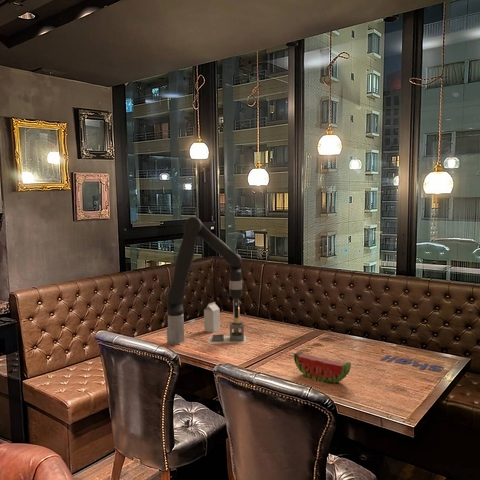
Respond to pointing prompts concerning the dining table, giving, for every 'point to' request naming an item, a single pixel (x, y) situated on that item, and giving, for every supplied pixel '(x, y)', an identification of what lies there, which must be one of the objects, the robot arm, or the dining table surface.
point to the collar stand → (231, 334)
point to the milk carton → (212, 318)
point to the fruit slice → (321, 367)
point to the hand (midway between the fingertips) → (236, 316)
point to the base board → (226, 340)
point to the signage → (415, 363)
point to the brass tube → (236, 322)
